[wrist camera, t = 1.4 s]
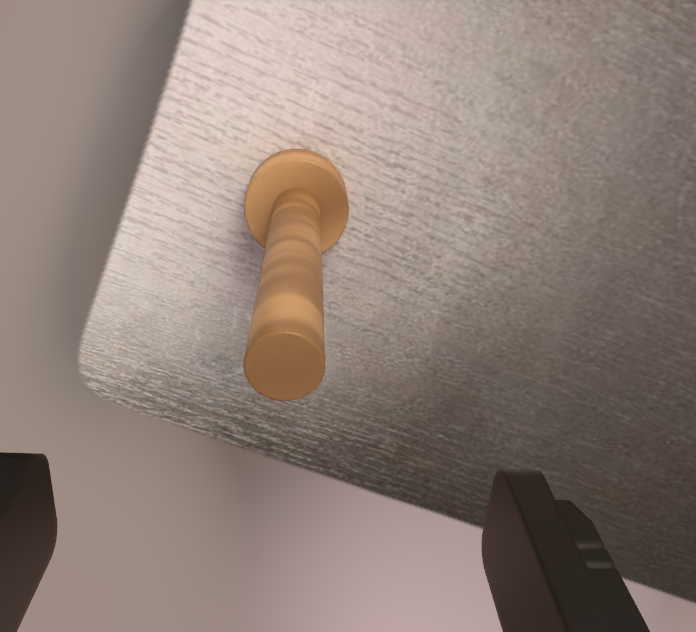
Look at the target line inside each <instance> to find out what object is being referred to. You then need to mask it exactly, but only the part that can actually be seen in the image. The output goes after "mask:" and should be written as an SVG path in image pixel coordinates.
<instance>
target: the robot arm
mask: <svg viewBox="0 0 696 632" xmlns="http://www.w3.org/2000/svg"><path fill="white" fill-rule="evenodd" d="M56 536H57V517H56V510H55V503H54V497H53V490H52V483H51V476H50V470H49V463H48V460H47V458H46V456H45V455H44V454H31V453H29V454H28V453H0V632H17V630H18V628H19V626H20V624H21V621H22V619H23V617H24V615H25V613H26V611H27V608H28V606H29V604H30V602H31V600H32V598H33V596H34V593H35V592H36V589H37V587H38V585H39V583H40V581H41V579H42V577H43V574H44V572H45V570H46V568H47V566H48V564H49V561H50V559H51V557H52V554H53V551H54V547H55V543H56ZM482 558H483V564H484V569H485V573H486V576H487V579H488V583H489V586H490V590H491V593H492V596H493V599H494V603H495V606H496V610H497V613H498V617H499V620H500V623H501V627H502V630H503V632H650V631H649V629H648V627H647V625H646V623H645V621H644V619H643V617H642V616H641V614H640V612H639V610H638V608H637V606H636V604H635V602H634V600H633V598H632V597H631V595H630V593H629V591H628V589H627V587H626V585H625V583H624V582H623V580H622V578H621V576H620V574H619V572H618V570H615V568H614V565H615V564H614V562H613V561H612V559H611V557H610V555H609V553H608V551H607V550H605V549H604V544H603V542H602V540H601V538H600V536H599V534H598V532H597V530H596V528H595V526H594V525H593V523H592V521H591V520H590V519H589V518H588V517H587V516H586V515H585V514H584V513H583V512H581V511H580V510H579V509H578V508H577V507H576V506H575V505H574V504H573V503H572V502H571V501H570V500H555V498H554V496H553V494H552V492H551V490H550V488H549V486H548V484H547V481H546V479H545V477H544V476H543V474H542V473H541V472H540V471H524V470H498V471H497V473H496V475H495V478H494V482H493V487H492V491H491V496H490V501H489V505H488V510H487V515H486V519H485V524H484V529H483V534H482Z"/></svg>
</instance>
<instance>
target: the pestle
mask: <svg viewBox="0 0 696 632" xmlns="http://www.w3.org/2000/svg"><path fill="white" fill-rule="evenodd" d="M244 211H245V218H246V222H247V225H248V228H249V230H250V232H251V234H252V235H253V237H254V238H255V239H256V240H257V242H258V243H259V244H260V245H261V246H263V247H264V248H265V252H264V257H263V263H262V268H261V273H260V278H259V284H258V289H257V294H256V299H255V304H254V310H253V315H252V320H251V325H250V331H249V336H248V341H247V346H246V352H245V357H244V372H245V375H246V378H247V380H248V382H249V383H250V384H251V386H252V387H253V388H254V389H255V390H256V391H257V392H259V393H260V394H262V395H263V396H265V397H267V398H270V399H273V400H279V401H291V400H296V399H299V398H302V397H304V396H306V395H308V394H309V393H311V392H312V391H313V390H314V389H315V388H316V387H317V386H318V385H319V383H320V382H321V380H322V378H323V375H324V371H325V347H324V313H323V280H322V253H324V252H325V251H327V250H328V249H330V248H331V247H332V246H333V245H334V244H335V243H336V242H337V241H338V240H339V238H340V237H341V235H342V234H343V232H344V230H345V227H346V224H347V221H348V215H349V205H348V198H347V192H346V187H345V183H344V181H343V178H342V176H341V175H340V173H339V171H338V170H337V169H336V167H335V166H334V165H333V164H332V163H331V162H330V161H329V160H327V159H326V158H325V157H323V156H321V155H319V154H317V153H315V152H312V151H308V150H303V149H290V150H285V151H281V152H278V153H276V154H274V155H272V156H270V157H269V158H267V159H266V160H265V161H264V162H263V163H262V164H261V165H260V166H259V167H258V168H257V170H256V171H255V173H254V175H253V177H252V179H251V182H250V184H249V187H248V190H247V193H246V198H245V204H244Z"/></svg>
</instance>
